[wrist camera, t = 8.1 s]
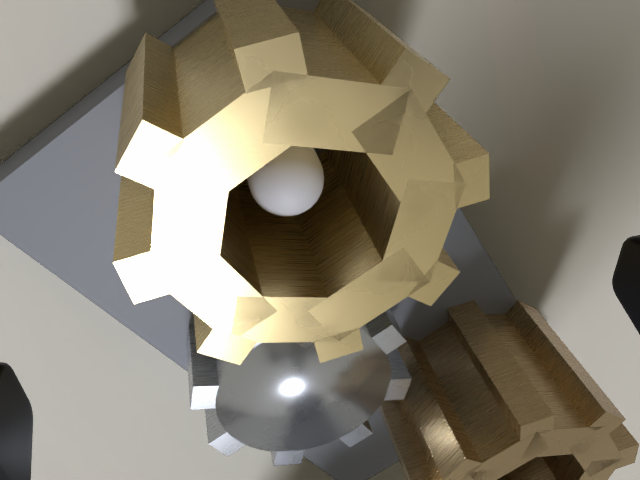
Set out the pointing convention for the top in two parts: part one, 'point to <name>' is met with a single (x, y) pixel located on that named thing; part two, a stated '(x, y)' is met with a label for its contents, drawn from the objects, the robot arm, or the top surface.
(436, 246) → the planet gear
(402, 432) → the seated gear
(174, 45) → the plate
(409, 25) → the top surface
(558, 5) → the top surface
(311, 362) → the sun gear
